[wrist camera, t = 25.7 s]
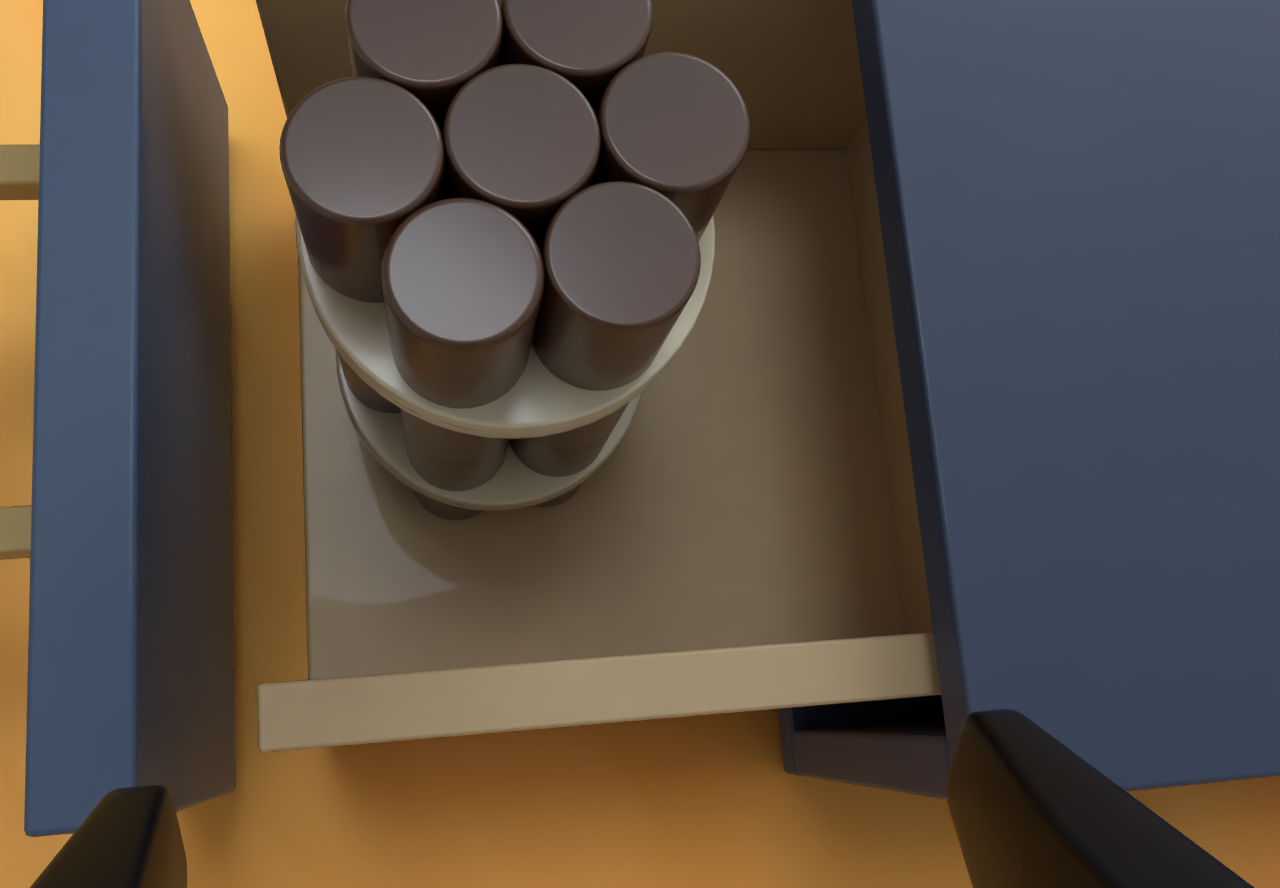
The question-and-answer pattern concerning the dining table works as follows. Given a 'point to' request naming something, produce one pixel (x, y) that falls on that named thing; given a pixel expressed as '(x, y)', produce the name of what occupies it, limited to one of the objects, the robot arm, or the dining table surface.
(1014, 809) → the robot arm
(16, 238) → the dining table surface
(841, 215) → the drawer
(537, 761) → the dining table surface
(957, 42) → the cabinet
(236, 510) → the dining table surface
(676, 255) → the bundle
